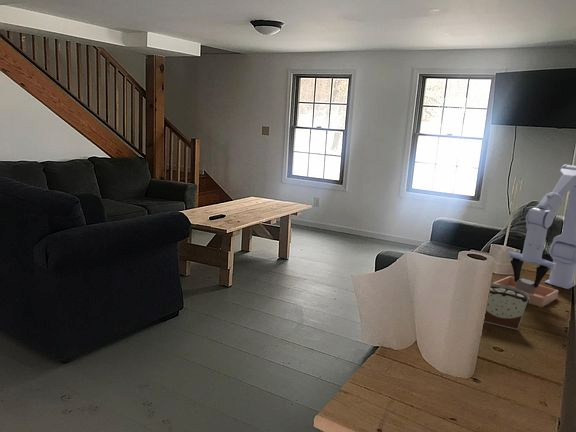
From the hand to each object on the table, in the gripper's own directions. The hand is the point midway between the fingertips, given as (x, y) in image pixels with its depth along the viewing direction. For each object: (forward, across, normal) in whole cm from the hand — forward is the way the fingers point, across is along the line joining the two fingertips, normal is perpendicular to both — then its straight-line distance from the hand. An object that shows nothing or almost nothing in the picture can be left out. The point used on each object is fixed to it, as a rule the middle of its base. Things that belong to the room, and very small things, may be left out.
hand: (526, 284), depth 157 cm
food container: (+4, +5, -31) cm, 32 cm away
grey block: (+4, 0, 0) cm, 4 cm away
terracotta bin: (+4, 0, 0) cm, 4 cm away
